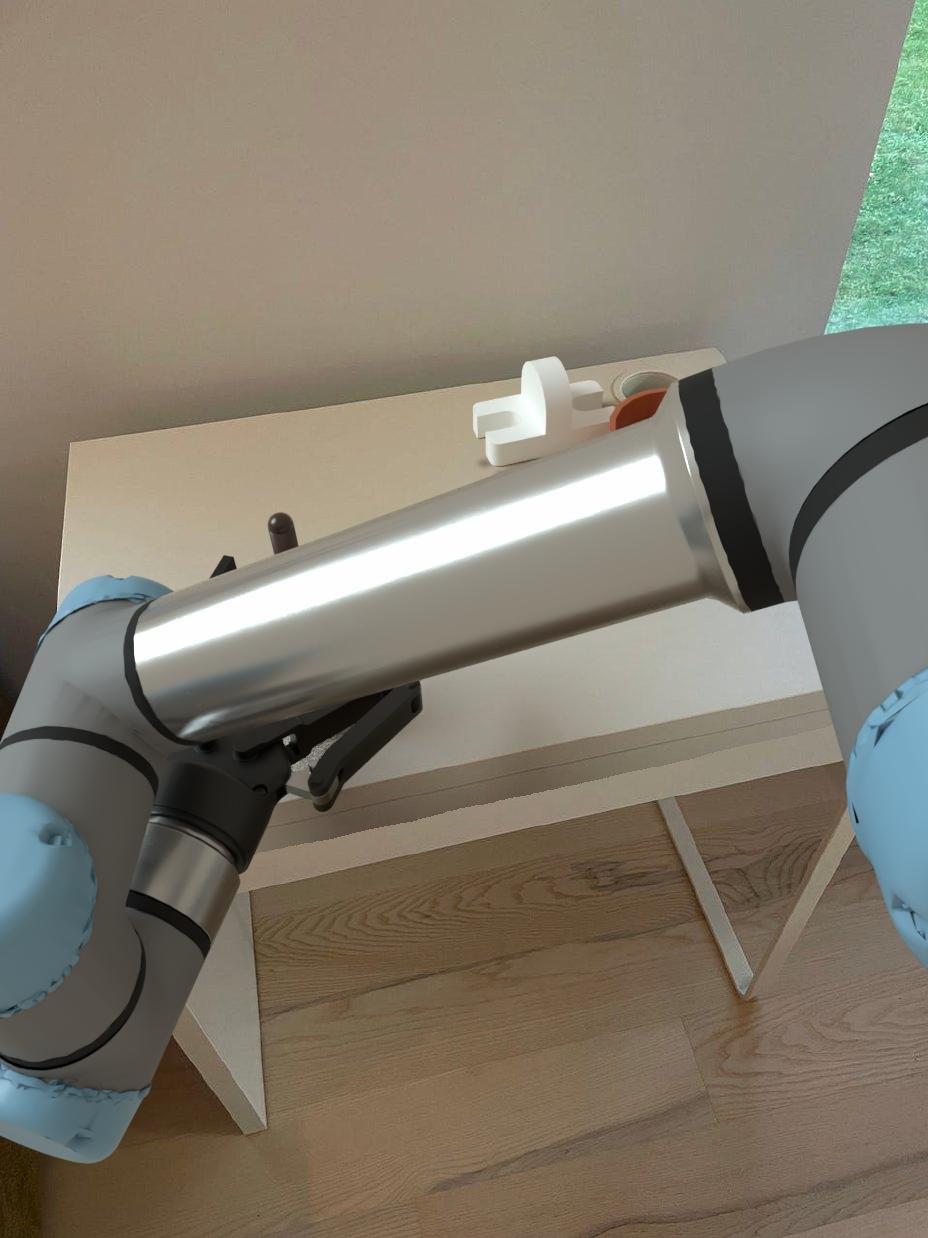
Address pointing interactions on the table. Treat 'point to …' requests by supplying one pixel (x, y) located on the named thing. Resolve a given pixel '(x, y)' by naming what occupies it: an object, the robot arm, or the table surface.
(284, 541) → the dark brown post
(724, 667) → the table surface
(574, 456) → the robot arm
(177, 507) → the table surface
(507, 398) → the slotted bracket
